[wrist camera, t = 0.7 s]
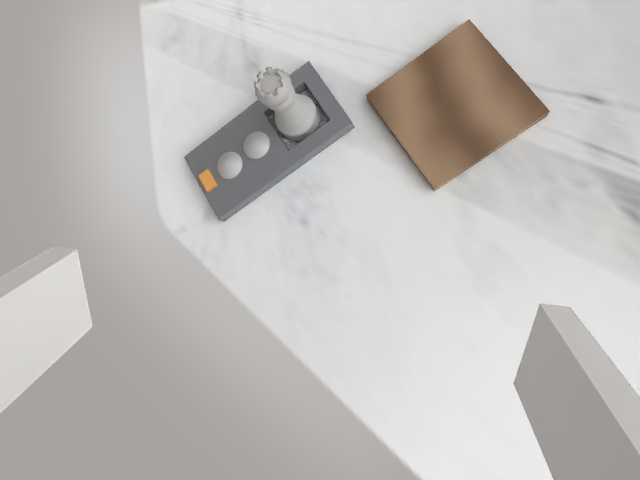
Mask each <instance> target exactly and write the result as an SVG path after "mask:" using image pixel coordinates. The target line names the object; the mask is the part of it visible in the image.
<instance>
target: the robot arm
mask: <svg viewBox="0 0 640 480" xmlns="http://www.w3.org/2000/svg"><path fill="white" fill-rule="evenodd" d="M91 328H92V321H91V316H90V311H89V306H88V301H87V296H86V291H85V286H84V281H83V277H82V272H81V267H80V262H79V257H78V252H77V249H68V248H60V247H51V248H50V249H48V250H46V251H45V252H43V253H41V254H39V255H38V256H36V257H34V258H32V259H31V260H29V261H27V262H26V263H24V264H22V265H21V266H19V267H17V268H15V269H13V270H12V271H10V272H8V273H7V274H5V275H3V276H2V277H0V413H1V412H2V411H3V410H4V409H5V408H6V407H7V406H9V404H11V403H12V402H13V401H14V400H15V399H16V398H17V397H18V396H19V395H20V394H21V393H22V392H23V391H25V389H27V388H28V387H29V386H30V385H31V384H32V383H33V382H34V381H35V380H36V379H37V378H38V377H39V376H40V375H42V374H43V373H44V372H45V371H46V370H47V369H48V368H49V367H50V366H51V365H52V364H53V363H54V362H55V361H57V360H58V359H59V358H60V357H61V356H62V355H63V354H64V353H65V352H66V351H67V350H68V349H69V348H70V347H71V346H72V345H74V344H75V343H76V342H77V341H78V340H79V339H80V338H81V337H82V336H83V335H84V334H85V333H86V332H87V331H88V330H90V329H91ZM514 386H515V388H516V390H517V393H518V395H519V398H520V400H521V402H522V405H523V407H524V410H525V412H526V414H527V417H528V419H529V422H530V424H531V426H532V429H533V431H534V434H535V436H536V438H537V441H538V443H539V446H540V448H541V450H542V453H543V455H544V457H545V460H546V462H547V465H548V467H549V469H550V472H551V474H552V477H553V479H554V480H640V397H639V396H638V394H637V393H636V392H635V390H634V389H633V388H632V387H631V385H630V384H629V383H628V381H627V380H626V379H625V378H624V376H623V375H622V374H621V372H620V371H619V370H618V368H617V367H616V366H615V365H614V363H613V362H612V361H611V359H610V358H609V357H608V356H607V354H606V353H605V352H604V350H603V349H602V348H601V346H600V345H599V344H598V343H597V341H596V340H595V339H594V337H593V336H592V335H591V334H590V332H589V331H588V330H587V328H586V327H585V326H584V324H583V323H582V322H581V321H580V319H579V318H578V317H577V315H576V314H575V313H574V311H573V310H572V309H571V308H570V307H564V306H555V305H547V304H540V305H539V308H538V311H537V314H536V317H535V320H534V323H533V326H532V329H531V332H530V335H529V338H528V341H527V344H526V347H525V350H524V353H523V356H522V360H521V363H520V366H519V369H518V372H517V375H516V378H515V381H514Z"/></svg>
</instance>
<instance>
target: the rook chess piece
mask: <svg viewBox="0 0 640 480" xmlns="http://www.w3.org/2000/svg"><path fill="white" fill-rule="evenodd" d="M257 77H258V78H259V79H258V82H255V92H256V96H257V99H258V101H260V102H261V103H262V104H263V105H267V107H269V108H270V109H271V110H274V111H275V124H276V126H277V128H278V130H279V131H280V132H281V134H282V135H283V136H284V137H285V138H287V139H289V140H293V141H299V140H304V139H305V138H307V137H308V136H309V135H311V134H312V133H313V132H315V130H316V129H317V127H318V125H319V122H320V111H319V109H318V107H317V105H316V104H315V103H314V102H313V100H311V99H310V98H309V97H307V96H306V95H302V94H298V93H297V94H296V93H295V89H294V87H293V85H292V84H291V79H290V77H289V75H288V74H287V73H286V72H285V71H283V70H280V69H277V68H276V69H272V68H271V67H269V68H266V72H265V73H264V74H262V73H261V71H260V73H259V74H258V75H257Z"/></svg>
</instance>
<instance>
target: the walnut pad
mask: <svg viewBox="0 0 640 480" xmlns="http://www.w3.org/2000/svg"><path fill="white" fill-rule="evenodd" d="M366 96H367V99H368V101H369V102H370V103H371V105H372V106H373V107H374V109H375V110H376V112H377V113H378V114H379V116H380V117H381V118H382V120H383V121H384V122H385V124H386V125H387V127H388V128H389V129H390V131H391V132H392V133H393V135H394V136H395V137H396V139H397V140H398V142H399V143H400V144H401V146H402V147H403V148H404V150H405V151H406V152H407V154H408V155H409V157H410V158H411V159H412V161H413V162H414V163H415V165H416V166H417V168H418V169H419V170H420V172H421V173H422V174H423V176H424V177H425V178H426V180H427V181H428V183H429V184H430V185H431V187H432V188H433V189H434V191H435V190H437V189H438V188H440V187H441V186H443V185H444V184H446V183H447V182H449V181H450V180H452V179H453V178H455V177H456V176H458V175H459V174H461V173H462V172H464V171H465V170H467V169H468V168H470V167H471V166H473V165H474V164H476V163H477V162H479V161H480V160H482V159H483V158H485V157H486V156H488V155H489V154H491V153H492V152H494V151H495V150H497V149H498V148H500V147H501V146H503V145H504V144H506V143H507V142H509V141H510V140H512V139H513V138H515V137H516V136H518V135H519V134H521V133H522V132H524V131H525V130H527V129H528V128H530V127H531V126H533V125H534V124H536V123H537V122H539V121H540V120H542V119H543V118H545V117H546V116H547V115H548V113H549V112H550V111H549V110H548V109H547V107H546V106H545V105H544V104H543V103H542V102H541V101H540V99H539V98H538V97H537V96H536V95H535V94H534V93H533V92H532V90H531V89H530V88H529V87H528V86H527V85H526V84H525V82H524V81H523V80H522V79H521V78H520V77H519V76H518V74H517V73H516V72H515V71H514V70H513V69H512V68H511V66H510V65H509V64H508V63H507V62H506V61H505V60H504V58H503V57H502V56H501V55H500V54H499V53H498V52H497V50H496V49H495V48H494V47H493V46H492V45H491V44H490V42H489V41H488V40H487V39H486V38H485V37H484V36H483V35H482V33H481V32H480V31H479V30H478V29H477V28H476V27H475V25H474V24H473V23H472V22H471V21H470V20H468V21H466V22H465V23H464V24H462V25H461V26H460V27H458V28H457V29H456V30H454V31H453V32H451V33H450V34H449V35H447V36H446V37H445V38H443V39H442V40H441V41H439V42H438V43H436V44H435V45H434V46H432V47H431V48H430V49H428V50H427V51H426V52H424V53H423V54H421V55H420V56H419V57H417V58H416V59H415V60H413V61H412V62H411V63H409V64H408V65H406V66H405V67H404V68H402V69H401V70H400V71H398V72H397V73H396V74H394V75H393V76H391V77H390V78H389V79H387V80H386V81H385V82H383V83H382V84H381V85H379V86H378V87H376V88H375V89H374V90H372V91H371V92H370V93H368V94H367V95H366Z"/></svg>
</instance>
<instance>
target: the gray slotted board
mask: <svg viewBox="0 0 640 480" xmlns="http://www.w3.org/2000/svg"><path fill="white" fill-rule="evenodd" d="M289 77H290V79H291V84H292V85H293V87H294V89H295V93H296V94H297V93H298V94H300V93H301V92H303V91H304V90H305V89H307V88H309V90H310V91H311V93H312V94H313V96H314V97H315V99H316V100H317V102H318V103H319V104H320V106H321V107H322V109H323V110H324V112H325V113H326V115H327V116H328V118H329V119H330V121H328V122H327V123H326V124H324V125H323V126H322V127H320V128H319V129H318V130H316V131H315V132H313V133H312V134H311V135H309V136H308V137H307V138H305V139H304V140H303V141H301V142H300V143H298V144H297V145H296V146H294V147H293V148H292V149H290V150H289V149H288V148H287V146H286V145H285V143H284V142H283V140H282V138H281V137H280V135H279V134H278V132H277V131H276V129H275V127H274V126H273V124H272V123H271V121H270V120H269V118H268V117H270V116H271V115H272V114H274V113H275V111H274V110H271V109H270V108H269V107H267V105H263V104H262V103H261V102H260V101H256V102H255V103H254V104H252V105H251V106H250V107H249V108H247V109H246V110H245V111H243V112H242V113H241V114H239V115H238V116H237V117H236V118H234V119H233V120H232V121H230V122H229V123H228V124H226V125H225V126H224V127H223V128H221V129H220V130H219V131H217V132H216V133H215V134H214V135H212V136H211V137H210V138H208V139H207V140H206V141H204V142H203V143H202V144H201V145H199V146H198V147H197V148H195V149H194V150H193V151H191V152H190V153H189V154H188V155H186V156H185V157H184V158H185V159H186V161H187V163H188V165H189V167H190V169H191V170H192V172H193V174H194V176H195V178H196V179H197V181H198V183H199V185H200V187H201V188H202V190H203V192H204V194H205V196H206V198H207V199H208V201H209V203H210V205H211V207H212V208H213V210H214V212H215V214H216V216H217V218H218V219H219V220H222V221H226V220H227V219H228V218H230V217H231V216H232V215H234V214H235V213H237V212H238V211H239V210H241V209H242V208H244V207H245V206H246V205H248V204H249V203H250V202H252V201H253V200H255V199H256V198H257V197H259V196H260V195H262V194H263V193H264V192H266V191H267V190H268V189H270V188H271V187H273V186H274V185H275V184H277V183H278V182H280V181H281V180H282V179H284V178H285V177H286V176H288V175H289V174H291V173H292V172H293V171H295V170H296V169H298V168H299V167H300V166H302V165H303V164H304V163H306V162H307V161H309V160H310V159H311V158H313V157H314V156H316V155H317V154H318V153H320V152H321V151H322V150H324V149H325V148H327V147H328V146H329V145H331V144H332V143H334V142H335V141H336V140H338V139H339V138H340V137H342V136H343V135H345V134H346V133H347V132H349V131H350V130H352V129H353V128H354V125H353V123H352V121H351V120H350V119H349V117H348V116H347V114H346V113H345V112H344V110H343V109H342V107H341V106H340V104H339V103H338V102H337V100H336V99H335V97H334V96H333V95H332V93H331V92H330V90H329V89H328V87H327V86H326V85H325V83H324V82H323V80H322V79H321V78H320V76H319V75H318V73H317V72H316V70H315V69H314V68H313V66H312V65H311V63H310V62H309V61H308V62H307V63H306V64H304V65H303V66H302V67H301V68H299V69H298V70H297V71H295V72H294V73H293V74H291V75H290V76H289Z"/></svg>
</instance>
